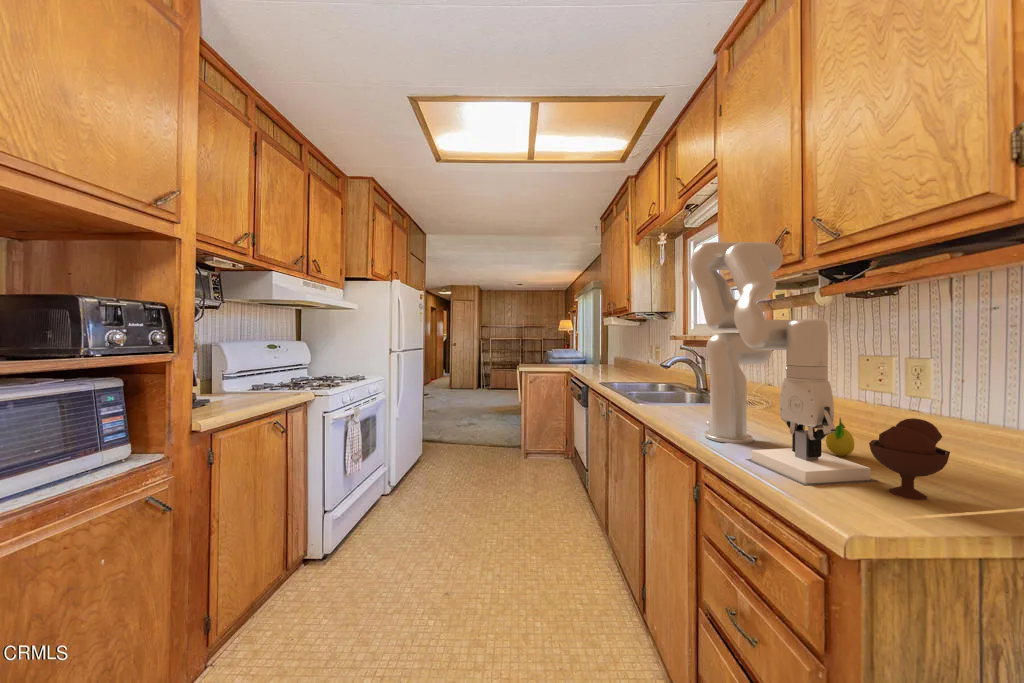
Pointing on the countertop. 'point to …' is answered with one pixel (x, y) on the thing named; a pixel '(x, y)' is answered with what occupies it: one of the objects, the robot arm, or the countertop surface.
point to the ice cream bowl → (910, 454)
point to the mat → (813, 483)
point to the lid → (810, 464)
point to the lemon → (840, 441)
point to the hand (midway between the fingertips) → (806, 453)
